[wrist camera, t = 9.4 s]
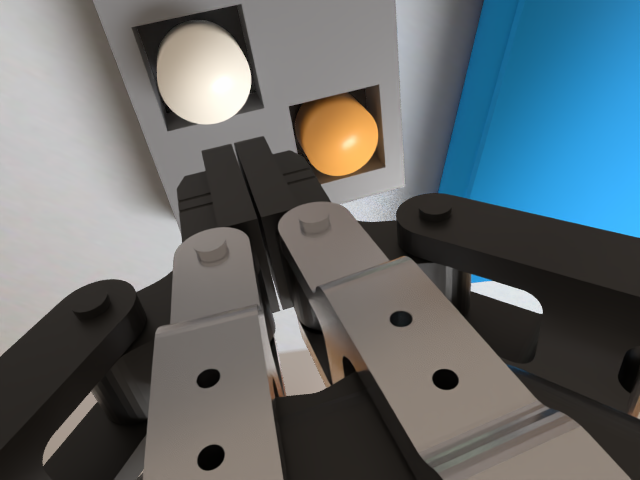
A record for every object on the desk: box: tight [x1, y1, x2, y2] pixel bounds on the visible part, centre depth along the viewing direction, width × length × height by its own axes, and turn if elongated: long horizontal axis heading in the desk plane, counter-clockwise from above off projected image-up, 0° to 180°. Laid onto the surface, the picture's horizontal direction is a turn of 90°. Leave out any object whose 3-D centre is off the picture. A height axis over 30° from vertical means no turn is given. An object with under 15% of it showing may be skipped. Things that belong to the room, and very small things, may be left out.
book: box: [438, 0, 640, 283], centre depth 31 cm, size 17×4×25 cm
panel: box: [93, 0, 405, 232], centre depth 25 cm, size 13×18×2 cm
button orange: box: [295, 92, 378, 176], centre depth 28 cm, size 4×4×2 cm
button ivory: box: [157, 20, 251, 124], centre depth 23 cm, size 4×4×2 cm
